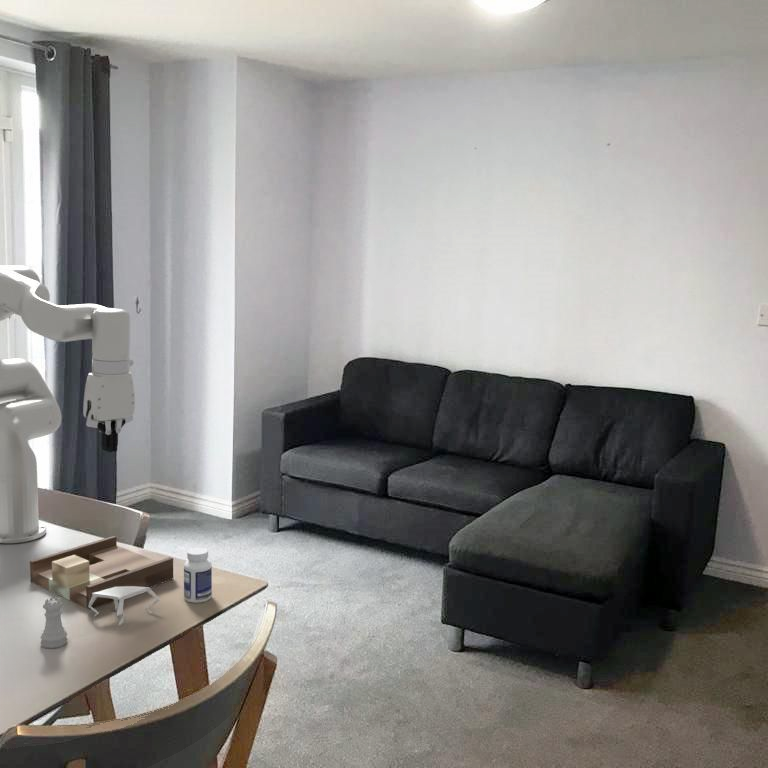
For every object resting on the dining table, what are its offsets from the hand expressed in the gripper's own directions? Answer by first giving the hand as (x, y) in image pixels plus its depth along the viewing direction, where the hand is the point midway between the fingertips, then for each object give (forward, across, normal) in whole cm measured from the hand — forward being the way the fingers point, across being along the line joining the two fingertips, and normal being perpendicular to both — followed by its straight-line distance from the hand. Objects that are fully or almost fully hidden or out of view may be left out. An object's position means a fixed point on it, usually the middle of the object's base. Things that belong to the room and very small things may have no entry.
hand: (109, 450), depth 186 cm
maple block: (+21, +16, +12) cm, 29 cm away
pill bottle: (+23, +1, +32) cm, 39 cm away
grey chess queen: (+24, +30, +29) cm, 48 cm away
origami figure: (+24, +15, +28) cm, 40 cm away
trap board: (+24, +8, +11) cm, 27 cm away
